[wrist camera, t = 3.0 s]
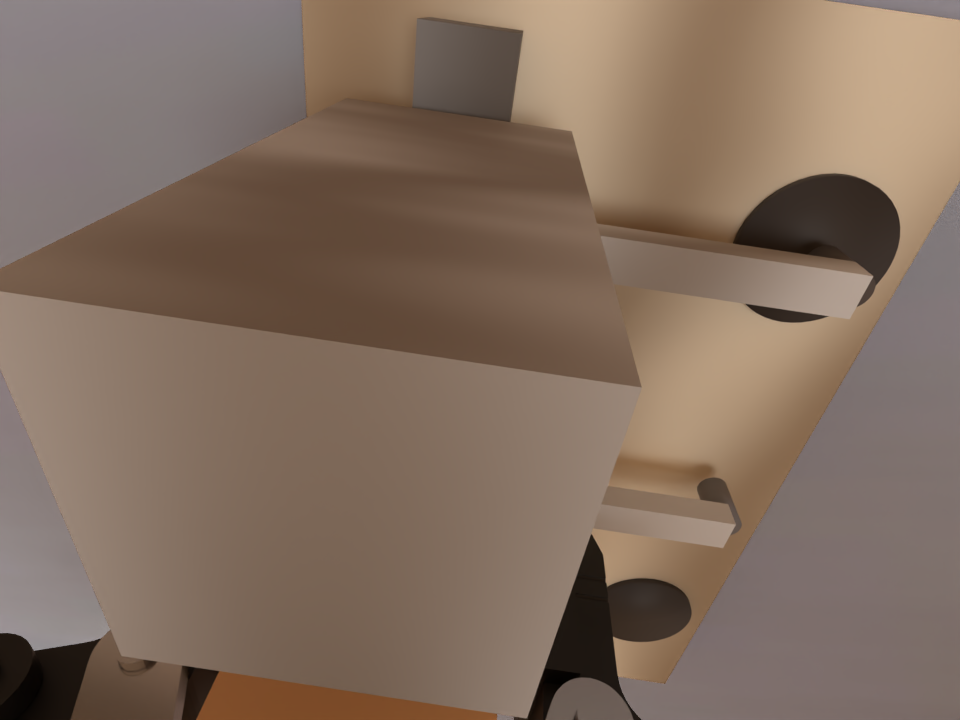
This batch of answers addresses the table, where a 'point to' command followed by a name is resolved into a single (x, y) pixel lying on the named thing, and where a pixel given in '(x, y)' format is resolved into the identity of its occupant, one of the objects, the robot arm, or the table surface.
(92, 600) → the table surface
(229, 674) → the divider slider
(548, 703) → the robot arm
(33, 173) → the table surface
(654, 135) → the pitch plate
